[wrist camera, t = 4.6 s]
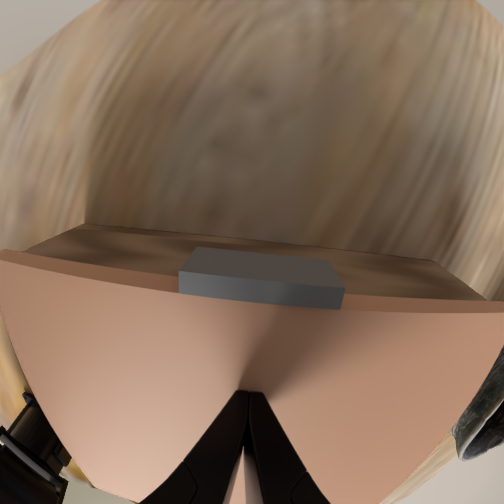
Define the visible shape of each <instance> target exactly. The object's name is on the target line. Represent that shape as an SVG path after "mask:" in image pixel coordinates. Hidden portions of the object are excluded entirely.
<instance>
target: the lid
mask: <svg viewBox="0 0 504 504" xmlns="http://www.w3.org/2000/svg"><path fill="white" fill-rule="evenodd" d="M344 293H345V286H344V285H343V283H342V281H341V280H340V278H339V276H338V275H337V273H336V272H335V270H334V268H333V267H332V265H331V264H330V262H329V260H320V259H311V258H301V257H292V256H282V255H273V254H263V253H254V252H244V251H235V250H225V249H216V248H206V247H196V248H195V250H194V251H193V252H192V254H191V255H190V256H189V258H188V259H187V260H186V262H185V263H184V264H183V266H182V267H181V268H180V270H179V277H177V276H169V275H161V274H154V273H147V272H139V271H132V270H125V269H119V268H112V267H105V266H99V265H93V264H86V263H80V262H74V261H68V260H62V259H56V258H50V257H45V256H39V255H34V254H28V253H23V252H17V251H12V250H7V249H4V250H2V251H0V309H1V313H2V316H3V319H4V322H5V325H6V328H7V331H8V334H9V337H10V340H11V343H12V345H13V348H14V351H15V353H16V356H17V358H18V361H19V363H20V365H21V368H22V370H23V372H24V375H25V377H26V379H27V381H28V383H29V385H30V387H31V389H32V391H33V393H34V395H35V397H36V399H37V401H38V403H39V405H40V407H41V409H42V411H43V412H44V414H45V416H46V418H47V419H48V421H49V423H50V424H51V426H52V428H53V429H54V431H55V433H56V434H57V436H58V437H59V439H60V440H61V442H62V444H63V445H64V447H65V448H66V449H67V451H68V452H69V454H70V455H71V457H72V458H73V459H74V461H75V462H76V464H77V465H78V466H79V468H80V469H81V470H82V471H83V473H84V474H85V475H86V477H87V478H88V479H89V480H90V482H91V483H92V484H93V485H94V486H95V487H96V488H99V489H101V490H104V491H106V492H109V493H112V494H115V495H117V496H120V497H123V498H126V499H129V500H132V501H135V502H141V501H142V500H143V499H144V498H146V497H147V496H148V495H149V494H151V493H152V492H153V491H154V490H155V489H156V488H157V487H158V486H160V485H161V484H162V483H163V482H164V481H165V480H166V479H167V478H168V477H169V475H170V474H171V473H172V472H173V471H174V470H175V469H176V468H177V466H178V465H179V464H180V463H181V462H182V461H183V459H184V458H185V457H186V455H187V454H188V453H189V452H190V450H191V449H192V448H193V447H194V445H195V444H196V443H197V441H198V440H199V439H200V438H201V436H202V435H203V434H204V432H205V431H206V430H207V428H208V427H209V426H210V424H211V423H212V422H213V421H214V419H215V418H216V416H217V415H218V414H219V412H220V411H221V410H222V408H223V407H224V406H225V404H226V403H227V401H228V400H229V399H230V397H231V396H232V395H233V393H234V392H235V391H236V390H247V391H249V393H250V391H258V392H263V393H264V395H265V397H266V399H267V400H268V402H269V404H270V406H271V408H272V410H273V411H274V413H275V415H276V417H277V419H278V421H279V422H280V424H281V426H282V428H283V429H284V431H285V433H286V435H287V436H288V438H289V440H290V442H291V443H292V445H293V447H294V449H295V450H296V452H297V454H298V455H299V457H300V459H301V460H302V462H303V464H304V465H305V467H306V469H307V471H308V472H309V473H310V475H311V477H312V478H313V480H314V482H315V483H316V485H317V486H318V487H319V489H320V490H321V492H322V493H323V494H324V496H325V497H326V498H327V499H328V501H329V502H330V503H331V504H379V503H380V502H381V501H382V500H383V499H385V498H386V497H387V496H388V495H389V494H390V493H391V492H393V491H394V490H395V489H396V488H397V487H398V486H399V485H400V484H401V483H402V482H403V481H405V480H406V479H407V478H408V477H409V476H410V475H411V474H412V473H413V472H414V471H415V470H416V469H417V468H418V467H419V466H420V464H421V463H422V462H423V461H424V460H425V459H426V458H427V457H428V456H429V455H430V454H431V453H432V451H433V450H434V449H435V448H436V447H437V446H438V444H439V443H440V442H441V441H442V440H443V438H444V437H445V436H446V435H447V434H448V432H449V431H450V430H451V428H452V427H453V426H454V425H455V423H456V422H457V421H458V419H459V418H460V417H461V415H462V414H463V412H464V411H465V410H466V408H467V407H468V405H469V404H470V402H471V401H472V399H473V398H474V396H475V395H476V393H477V392H478V390H479V388H480V387H481V385H482V384H483V382H484V380H485V379H486V377H487V375H488V374H489V372H490V370H491V368H492V366H493V365H494V363H495V361H496V359H497V357H498V355H499V353H500V351H501V349H502V347H503V345H504V301H471V300H442V299H420V298H401V297H385V296H369V295H355V294H344ZM307 471H306V472H307ZM229 504H246V496H245V480H244V463H243V452H242V457H241V461H240V465H239V469H238V473H237V477H236V480H235V484H234V488H233V492H232V495H231V499H230V503H229Z"/></svg>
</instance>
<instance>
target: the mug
mask: <svg viewBox="0 0 504 504" xmlns="http://www.w3.org/2000/svg"><path fill="white" fill-rule="evenodd" d="M449 433H451V435H452V436H454V438H455V440H456V449H457V453H458V458H459V459H460V460H462V461H468V460H471V459H474V458H476V457H478V456H480V455H482V454H484V453H485V452H487V451H488V450H489V449H492V448H495V447H497V446H500V445H502V444H504V345H503V347H502V349H501V351H500V353H499V355H498V357H497V359H496V361H495V363H494V365H493V366H492V368H491V370H490V372H489V374H488V375H487V377H486V379H485V380H484V382H483V384H482V385H481V387H480V388H479V390H478V392H477V393H476V395H475V396H474V398H473V399H472V401H471V402H470V404H469V405H468V407H467V408H466V410H465V411H464V412H463V414H462V415H461V417H460V418H459V419H458V421H457V422H456V423H455V425H454V426H453V427H452V428H451V430H450V431H449Z"/></svg>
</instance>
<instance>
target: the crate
mask: <svg viewBox="0 0 504 504" xmlns="http://www.w3.org/2000/svg"><path fill="white" fill-rule="evenodd" d="M196 247H206V248H216V249H225V250H235V251H244V252H254V253H263V254H273V255H282V256H292V257H301V258H311V259H320V260H329V262H330V264H331V265H332V267H333V268H334V270H335V272H336V273H337V275H338V276H339V278H340V280H341V281H342V283H343V285H344V286H345V293H344V294H355V295H369V296H385V297H401V298H420V299H442V300H471V301H487V300H486V299H485V298H483V297H482V296H481V295H479V294H478V293H477V292H476V291H474V290H473V289H472V288H470V287H469V286H468V285H466V284H465V283H464V282H462V281H461V280H459V279H458V278H457V277H455V276H454V275H452V274H451V273H450V272H448V271H447V270H445V269H444V268H443V267H441V266H440V265H438V264H437V263H435V262H434V261H429V260H421V259H413V258H405V257H397V256H389V255H380V254H372V253H363V252H355V251H346V250H338V249H329V248H320V247H311V246H302V245H293V244H284V243H275V242H265V241H256V240H246V239H237V238H227V237H217V236H207V235H197V234H187V233H177V232H166V231H156V230H145V229H134V228H123V227H112V226H101V225H89V224H82V225H80V226H78V227H75V228H73V229H71V230H68V231H66V232H64V233H62V234H59V235H57V236H55V237H53V238H51V239H48V240H46V241H44V242H42V243H40V244H38V245H36V246H34V247H31V248H29V249H27V250H25V251H23V253H28V254H34V255H39V256H45V257H50V258H56V259H62V260H68V261H74V262H80V263H86V264H93V265H99V266H105V267H112V268H119V269H125V270H132V271H139V272H147V273H154V274H161V275H169V276H177V277H179V270H180V268H181V267H182V266H183V264H184V263H185V262H186V260H187V259H188V258H189V256H190V255H191V254H192V252H193V251H194V250H195V248H196Z"/></svg>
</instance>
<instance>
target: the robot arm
mask: <svg viewBox="0 0 504 504" xmlns="http://www.w3.org/2000/svg"><path fill="white" fill-rule="evenodd" d="M22 396H23V398H24V399H25V401H26V403H27V405H26V406H25V408H24V409H23V410H22V412H21V413H20V414H19V416H18V417H17V418H16V420H15V421H14V422H13V424H12V425H11V426H10V428H9V429H8V430H7V431H6V429H5V428H4V427H3V426H1V427H0V440H1V441H2V442H3V443H4V445H3V446H2V445H1V444H0V504H62V503H63V499H64V496H65V492H66V489H67V485H68V481H67V480H66V479H64V478H62V477H60V476H59V473H60V471H61V469H62V468H63V466H65V467H66V466H68V464H69V462H70V460H71V458H72V457H71V455H70V454H69V452H68V451H67V449H66V448H65V447H64V445H63V444H62V442H61V440H60V439H59V437H58V436H57V434H56V433H55V431H54V429H53V428H52V426H51V424H50V423H49V421H48V419H47V418H46V416H45V414H44V412H43V411H42V409H41V407H40V405H39V403H38V401H37V399H36V398H35V397H34V396H32V395H30V394H28V393H26V392H24V393H23V394H22ZM242 452H243V463H244V480H245V496H246V504H331V503H330V502H329V501H328V499H327V498H326V497H325V496H324V494H323V493H322V492H321V490H320V489H319V487H318V486H317V485H316V483H315V482H314V480H313V478H312V477H311V475H310V473H309V472H308V471H307V469H306V467H305V465H304V464H303V462H302V460H301V459H300V457H299V455H298V454H297V452H296V450H295V449H294V447H293V445H292V443H291V442H290V440H289V438H288V436H287V435H286V433H285V431H284V429H283V428H282V426H281V424H280V422H279V421H278V419H277V417H276V415H275V413H274V411H273V410H272V408H271V406H270V404H269V402H268V400H267V399H266V397H265V395H264V393H263V392H258V391H250V393H249V391H247V390H236V391H235V392H234V393H233V395H232V396H231V397H230V399H229V400H228V401H227V403H226V404H225V406H224V407H223V408H222V410H221V411H220V412H219V414H218V415H217V416H216V418H215V419H214V421H213V422H212V423H211V424H210V426H209V427H208V428H207V430H206V431H205V432H204V434H203V435H202V436H201V438H200V439H199V440H198V441H197V443H196V444H195V445H194V447H193V448H192V449H191V450H190V452H189V453H188V454H187V455H186V457H185V458H184V459H183V461H182V462H181V463H180V464H179V465H178V466H177V468H176V469H175V470H174V471H173V472H172V473H171V474H170V475H169V477H168V478H167V479H166V480H165V481H164V482H163V483H162V484H161V485H160V486H158V487H157V488H156V489H155V490H154V491H153V492H152V493H151V494H149V495H148V496H147V497H146V498H144V499H143V500H142V501H141V502H139V503H138V504H229V503H230V499H231V495H232V492H233V488H234V484H235V480H236V477H237V473H238V469H239V465H240V461H241V457H242ZM306 471H307V472H306Z"/></svg>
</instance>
